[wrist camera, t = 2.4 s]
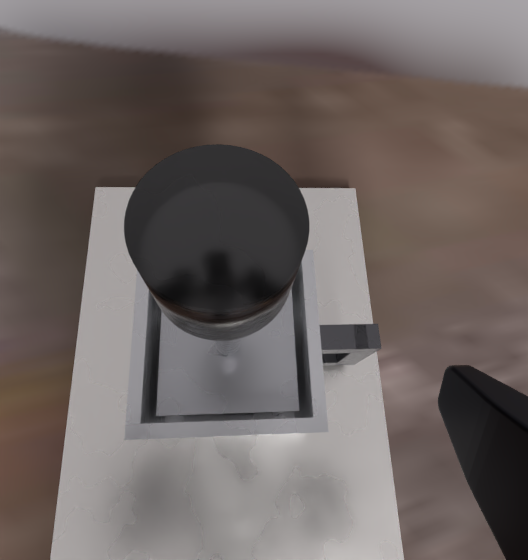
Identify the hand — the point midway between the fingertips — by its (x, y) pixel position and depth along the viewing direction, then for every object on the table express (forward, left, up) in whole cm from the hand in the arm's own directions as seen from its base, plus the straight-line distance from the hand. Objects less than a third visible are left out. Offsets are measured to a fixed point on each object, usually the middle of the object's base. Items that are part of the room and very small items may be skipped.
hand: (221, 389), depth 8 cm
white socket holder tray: (+1, -2, -13) cm, 14 cm away
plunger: (+1, -2, -9) cm, 9 cm away
